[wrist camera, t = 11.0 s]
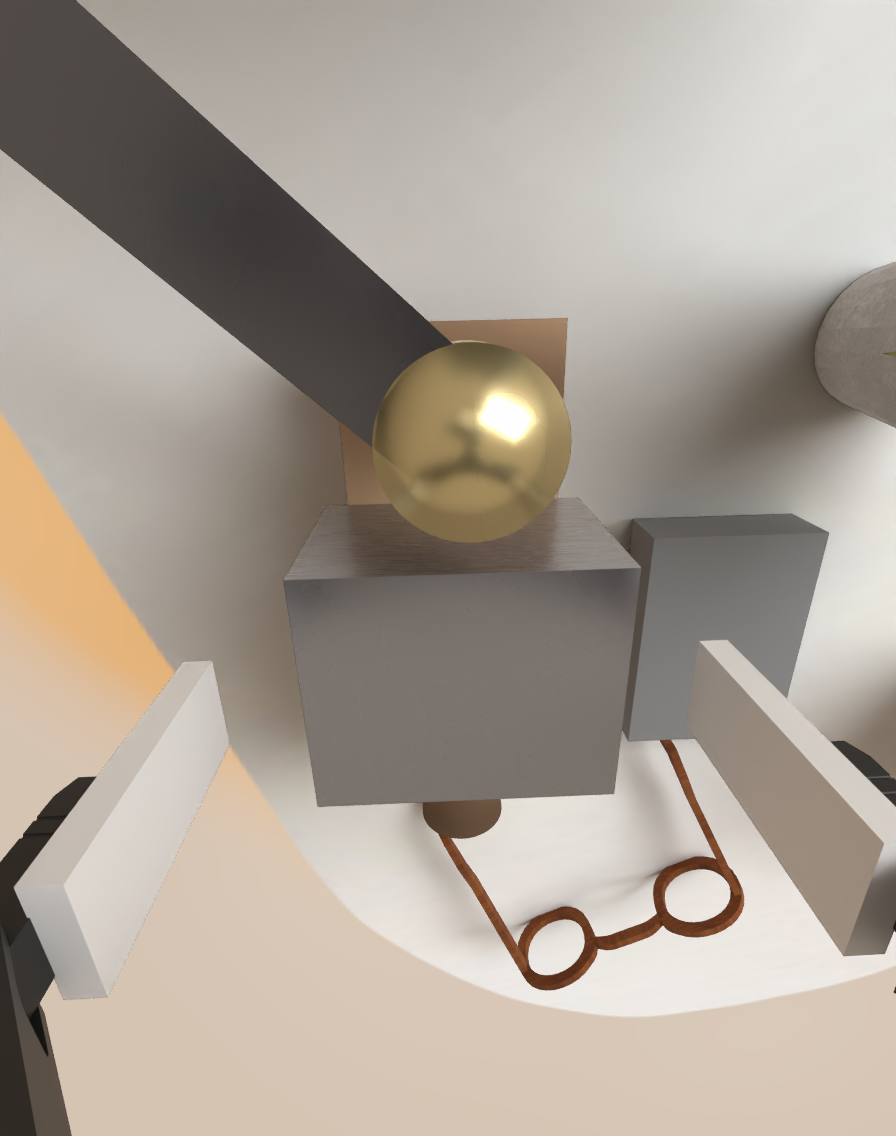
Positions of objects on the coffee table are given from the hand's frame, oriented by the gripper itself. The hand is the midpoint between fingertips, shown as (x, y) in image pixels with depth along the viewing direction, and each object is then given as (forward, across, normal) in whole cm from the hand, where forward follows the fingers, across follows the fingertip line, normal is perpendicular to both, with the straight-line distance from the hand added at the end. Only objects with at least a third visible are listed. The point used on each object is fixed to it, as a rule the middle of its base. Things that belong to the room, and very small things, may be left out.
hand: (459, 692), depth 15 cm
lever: (-2, -4, +11) cm, 12 cm away
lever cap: (+5, 0, 0) cm, 5 cm away
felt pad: (+10, +12, -4) cm, 16 cm away
